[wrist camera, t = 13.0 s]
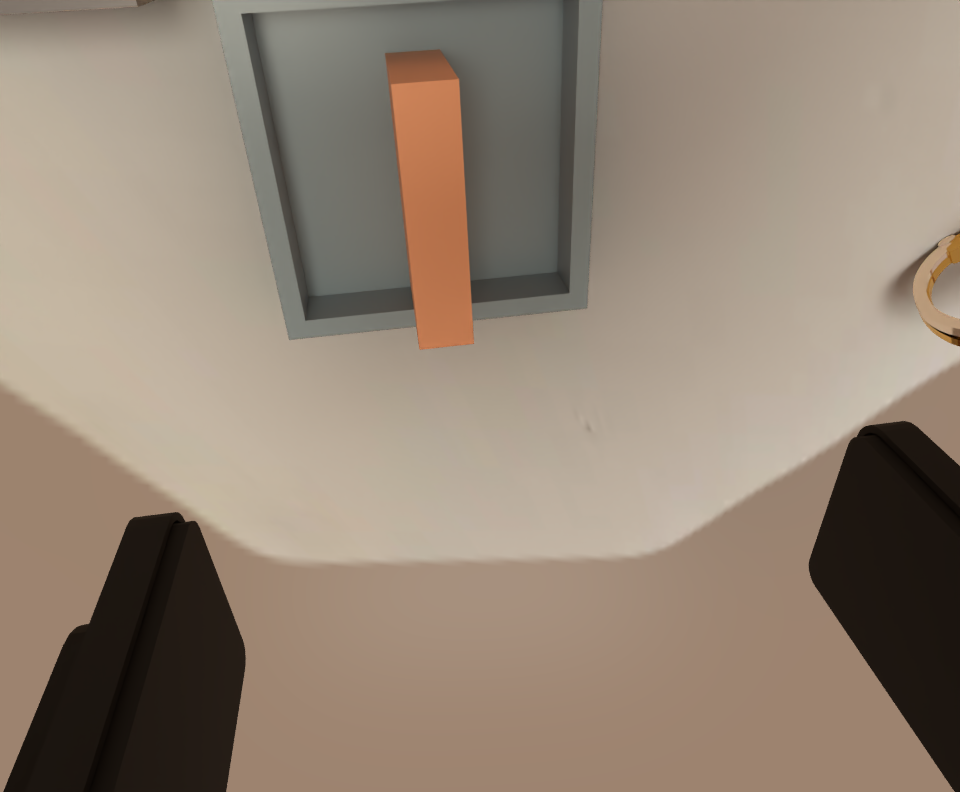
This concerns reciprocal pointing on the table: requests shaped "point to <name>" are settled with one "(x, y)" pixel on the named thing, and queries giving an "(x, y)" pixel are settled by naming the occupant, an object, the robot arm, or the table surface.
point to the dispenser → (63, 5)
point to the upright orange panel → (432, 194)
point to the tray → (372, 155)
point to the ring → (928, 272)
